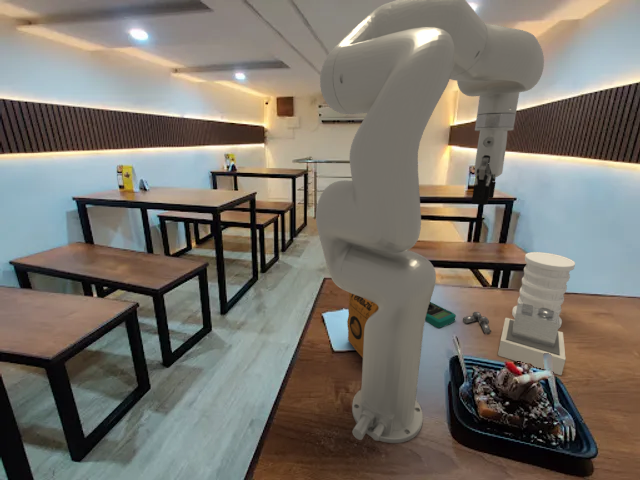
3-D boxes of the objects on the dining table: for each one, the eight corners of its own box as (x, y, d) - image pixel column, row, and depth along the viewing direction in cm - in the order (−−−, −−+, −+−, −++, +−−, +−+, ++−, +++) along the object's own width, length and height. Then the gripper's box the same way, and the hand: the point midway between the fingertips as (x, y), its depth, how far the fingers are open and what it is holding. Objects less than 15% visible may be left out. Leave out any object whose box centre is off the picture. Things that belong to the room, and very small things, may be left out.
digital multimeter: (415, 300, 100) (415, 292, 99) (456, 322, 88) (457, 313, 87) (398, 307, 96) (398, 298, 95) (438, 330, 84) (439, 320, 83)
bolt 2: (491, 334, 82) (493, 326, 81) (481, 333, 82) (483, 325, 81) (487, 324, 86) (489, 317, 85) (477, 323, 86) (479, 315, 86)
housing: (511, 335, 74) (517, 309, 72) (513, 324, 78) (518, 299, 76) (553, 347, 69) (560, 319, 67) (552, 335, 74) (559, 308, 72)
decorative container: (571, 326, 85) (588, 264, 80) (538, 333, 82) (553, 269, 77) (533, 306, 96) (545, 249, 90) (502, 311, 93) (513, 253, 87)
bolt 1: (467, 325, 86) (469, 317, 85) (461, 320, 88) (462, 313, 87) (480, 321, 87) (482, 314, 87) (474, 317, 89) (475, 310, 89)
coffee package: (363, 372, 68) (368, 279, 62) (342, 340, 79) (344, 258, 73) (404, 363, 71) (412, 273, 64) (378, 333, 82) (383, 253, 76)
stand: (561, 375, 67) (565, 358, 66) (497, 355, 74) (500, 339, 72) (559, 346, 77) (563, 331, 75) (502, 330, 83) (505, 316, 82)
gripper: (510, 121, 61) (496, 208, 66) (517, 124, 74) (504, 197, 79) (468, 122, 65) (457, 204, 70) (481, 125, 78) (472, 194, 83)
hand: (482, 200), depth 75 cm, fingers open, 9 cm apart
